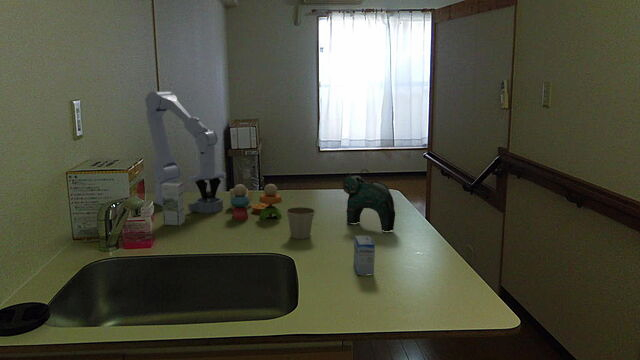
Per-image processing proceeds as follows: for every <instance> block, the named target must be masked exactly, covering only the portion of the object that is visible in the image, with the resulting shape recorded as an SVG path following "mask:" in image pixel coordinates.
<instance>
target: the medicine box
mask: <svg viewBox="0 0 640 360" xmlns="http://www.w3.org/2000/svg"><path fill="white" fill-rule="evenodd" d="M375 253H376V245H375V243H374V242H373V240H372V238H371V236H370V235H354V243H353V267H355V268H354V270H355V272H356V274H357V276H358V275H367V274H374V275H375V257H376V256H375V255H376V254H375Z"/></svg>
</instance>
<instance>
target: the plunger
mask: <svg viewBox="0 0 640 360" xmlns="http://www.w3.org/2000/svg"><path fill="white" fill-rule="evenodd" d="M206 198H207V202H210V198H213V192H212V191H210V190H209V191H207V190H206Z"/></svg>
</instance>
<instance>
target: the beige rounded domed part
mask: <svg viewBox="0 0 640 360" xmlns="http://www.w3.org/2000/svg"><path fill="white" fill-rule="evenodd" d="M233 190H234V187H233V188H230V189H229V208H230V209H232V210H234V208H235V206H233V205H232V204H231V200H232V197H233V196H235V194H234V192H233ZM246 190H247V192H246V194H245V195H247V196H248V198H249V201H250V202H253V201H254V200H253V190H249V189H248V188H246ZM245 207H246V208H247V209H249V204H248V205H247V206H245Z"/></svg>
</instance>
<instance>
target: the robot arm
mask: <svg viewBox="0 0 640 360" xmlns="http://www.w3.org/2000/svg"><path fill="white" fill-rule="evenodd" d="M144 101H145V106H146V119H147V122H148V126H149V130H150V135H151V140H152V145H153V146H154V147H153V148H154V152H155V157H156V159H155V161H154V162H153V164H152V168H153V172H152V175H153V178H154V180H155V181H156V183H155V185H154V191H155V193H154V194H155V200H154V201H153V203H154V204H156V205H159V206H160V207H163V201H162V184H163V183H165V182H179V178H180V176H181V174H182V173H181V172H182V171H181V167H180V165H178V162H177V161H178V160H177V159H176V158H174V157H173V156H172V155H171V154H172V153H171V150H170V145H169V141H168V137H167V133H166V127H165V123H164V119H163V116H164V115H165V113H166V112H167V111H170V112H172V113H173V114H174V115H175V116H176V117H177V118H178V119H179V120H181V121H182V122H183V123H184V125H183V127H184V129H186V131H187V132H189V134H190V135H191V136H192V137H193V138H194V140H195V144H196V145H197V150H198V152H199V153H198V154H199V174H196V175H192V176H189V177H188V182H189V183H195V184H196V186H197V188H198V190H199V192H200V196H201V198H202V199H203V200H206V191H207V187H208V182H209V188H210V189H209V191H212V192H213V198H215V197H217V191H218V189H219V186H220V185H221V182H222V181H221V179H226V178H227V172H223V171H221V172H216V149H215V148H216V146H215V145H216V144H217V143H218V139H219V138H218V135H217V132H216V131H215V130H213V129H209V128H208V127H207V126H205V125H204V124H203V123H202V122H201V119H200V118H199V117H196V116H191V115H190V113H189V112H188V111H187V109H185V108H184V106H183V105H182V104H181V103H180V102H179V100H178V96H176V95H175V94H174V93H173V92H172V91H170V90H163V91H162V90H161V91H153V90H152V91H150V92H148V94H147V95H146V97H145V98H144ZM206 181H208V182H206Z"/></svg>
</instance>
